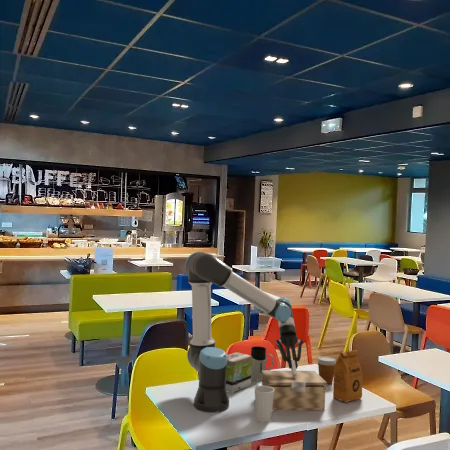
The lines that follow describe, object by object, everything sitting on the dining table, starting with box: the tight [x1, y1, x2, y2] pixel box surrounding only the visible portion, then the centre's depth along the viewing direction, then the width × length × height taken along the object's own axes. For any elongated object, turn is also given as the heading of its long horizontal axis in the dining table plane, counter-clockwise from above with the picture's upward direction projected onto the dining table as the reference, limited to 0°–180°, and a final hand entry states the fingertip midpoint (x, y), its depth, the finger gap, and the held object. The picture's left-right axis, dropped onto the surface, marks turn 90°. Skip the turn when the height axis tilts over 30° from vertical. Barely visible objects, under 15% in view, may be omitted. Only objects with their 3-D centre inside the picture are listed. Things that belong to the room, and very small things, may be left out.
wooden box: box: [261, 375, 326, 412], centre depth 208 cm, size 24×18×10 cm
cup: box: [254, 385, 274, 423], centre depth 190 cm, size 8×8×12 cm
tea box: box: [226, 351, 252, 394], centre depth 225 cm, size 15×10×15 cm, turn 143°
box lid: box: [261, 370, 328, 392], centre depth 208 cm, size 25×19×4 cm
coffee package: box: [332, 349, 364, 403], centre depth 215 cm, size 10×12×22 cm
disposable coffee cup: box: [316, 355, 337, 385], centre depth 237 cm, size 10×10×12 cm
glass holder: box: [250, 345, 274, 381], centre depth 238 cm, size 9×14×15 cm, turn 44°
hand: (294, 375), depth 205 cm, fingers closed
